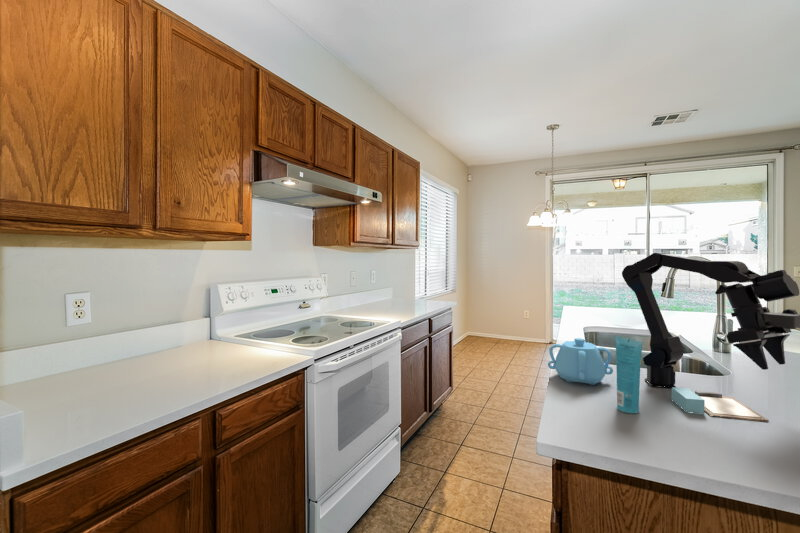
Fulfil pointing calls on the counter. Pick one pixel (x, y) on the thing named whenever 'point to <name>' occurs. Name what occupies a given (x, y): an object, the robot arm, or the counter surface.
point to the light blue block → (688, 400)
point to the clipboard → (727, 407)
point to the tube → (628, 373)
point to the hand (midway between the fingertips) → (774, 366)
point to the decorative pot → (580, 362)
